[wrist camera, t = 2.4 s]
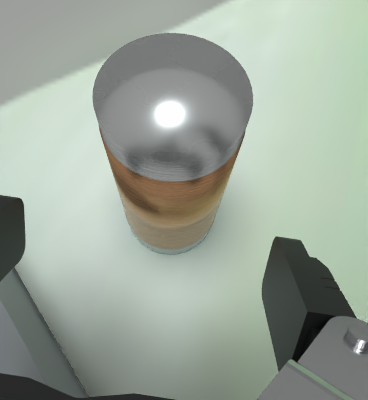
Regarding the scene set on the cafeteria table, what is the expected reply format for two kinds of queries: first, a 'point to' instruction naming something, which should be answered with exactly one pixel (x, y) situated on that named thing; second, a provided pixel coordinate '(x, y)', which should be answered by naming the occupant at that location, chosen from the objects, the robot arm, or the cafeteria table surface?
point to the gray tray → (31, 341)
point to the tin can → (172, 133)
